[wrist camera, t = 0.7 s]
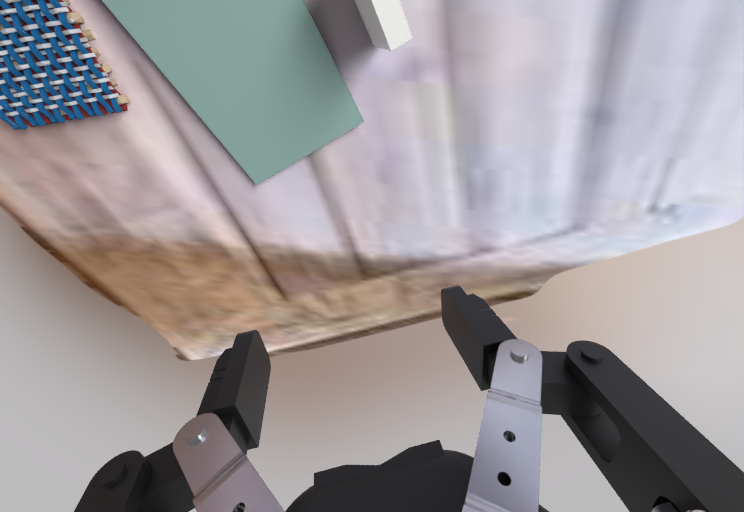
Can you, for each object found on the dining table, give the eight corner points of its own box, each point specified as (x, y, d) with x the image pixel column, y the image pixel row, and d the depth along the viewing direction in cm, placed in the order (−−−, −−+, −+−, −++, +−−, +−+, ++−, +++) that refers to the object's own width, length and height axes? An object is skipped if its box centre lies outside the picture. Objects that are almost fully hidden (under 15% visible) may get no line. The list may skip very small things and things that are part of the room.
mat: (91, -19, 22) (84, -21, 21) (234, -137, 20) (231, -143, 19) (257, 182, 33) (256, 185, 32) (363, 119, 31) (364, 121, 30)
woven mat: (46, -59, 21) (24, -65, 19) (139, 107, 28) (128, 112, 26) (-111, -34, 21) (-146, -39, 19) (22, 127, 27) (3, 134, 26)
